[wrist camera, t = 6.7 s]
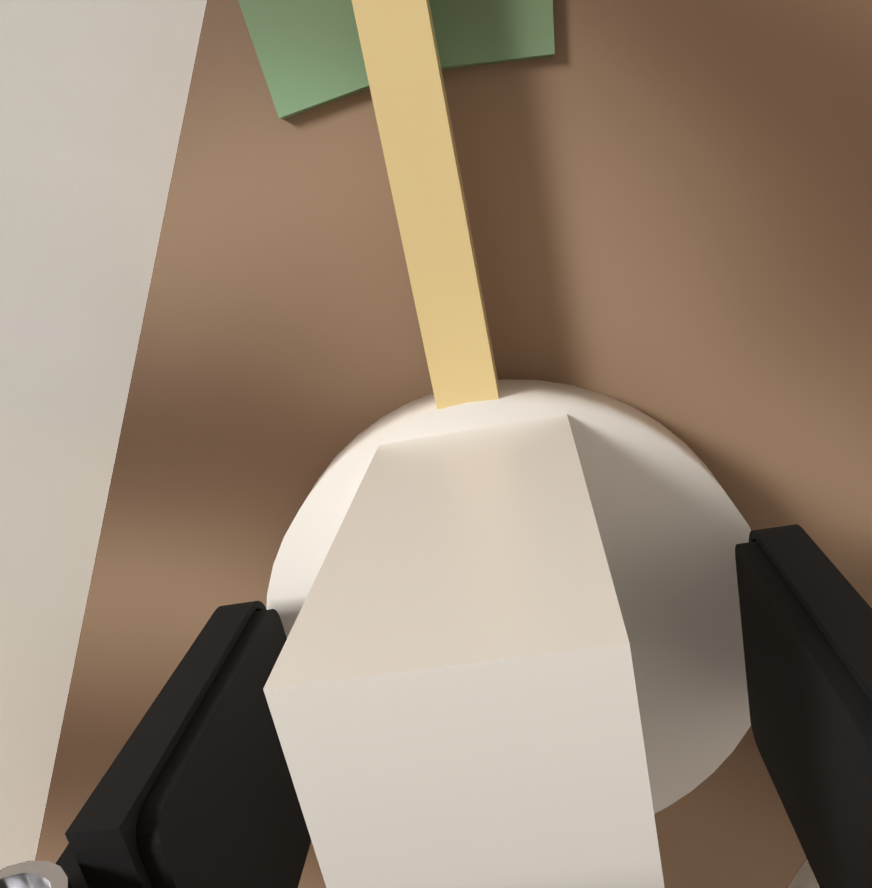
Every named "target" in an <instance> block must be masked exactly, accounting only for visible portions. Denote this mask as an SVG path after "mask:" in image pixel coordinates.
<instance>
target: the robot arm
mask: <svg viewBox="0 0 872 888" xmlns="http://www.w3.org/2000/svg"><path fill="white" fill-rule="evenodd" d="M735 560H736V571H737V582H738V593H739V604H740V614H741V625H742V636H743V647H744V658H745V669H746V680H747V690H748V701H749V712H750V721H751V727H752V731H753V735H754V739H755V742H756V745H757V748H758V750H759V752H760V755H761V757H762V759H763V761H764V764H765V766H766V768H767V770H768V773H769V775H770V777H771V779H772V781H773V784H774V786H775V788H776V790H777V793H778V795H779V797H780V799H781V801H782V804H783V806H784V808H785V810H786V813H787V815H788V817H789V819H790V822H791V824H792V826H793V828H794V830H795V833H796V835H797V837H798V839H799V842H800V844H801V846H802V848H803V851H804V853H805V855H806V857H807V859H808V862H809V864H810V866H811V868H812V871H813V873H814V875H815V877H816V879H817V882H818V884H819V886H820V888H872V608H871V607H870V606H869V605H868V604H867V602H866V601H865V600H864V599H863V598H862V597H861V595H860V594H859V593H858V592H857V591H856V590H855V589H854V587H853V586H852V585H851V584H850V583H849V582H848V580H847V579H846V578H845V577H844V576H843V575H842V573H841V572H840V571H839V570H838V569H837V568H836V567H835V565H834V564H833V563H832V562H831V561H830V560H829V558H828V557H827V556H826V555H825V554H824V553H823V551H822V550H821V549H820V548H819V547H818V546H817V545H816V543H815V542H814V541H813V540H812V539H811V538H810V536H809V535H808V534H807V533H806V532H805V531H804V529H803V528H802V527H801V526H799V525H798V524H794V525H787V526H780V527H773V528H766V529H759V530H752V531H751V532H750V534H749V542H748V543H740V544H736V546H735ZM286 640H287V638H286V634H285V631H284V628H283V624H282V621H281V618H280V616H279V614H278V612H277V611H276V610H275V609H269V610H267V609H266V607H265V605H264V604H263V603H262V602H261V601H252V602H245V603H238V604H231V605H224V606H219V607H218V608H217V609H216V610H215V611H214V613H213V614H212V616H211V617H210V619H209V620H208V622H207V623H206V625H205V626H204V628H203V629H202V631H201V632H200V634H199V635H198V636H197V638H196V639H195V641H194V642H193V644H192V645H191V647H190V648H189V650H188V651H187V653H186V654H185V656H184V657H183V659H182V660H181V662H180V663H179V665H178V666H177V668H176V669H175V671H174V672H173V674H172V675H171V677H170V678H169V680H168V681H167V683H166V684H165V685H164V687H163V688H162V690H161V691H160V693H159V694H158V696H157V697H156V699H155V700H154V702H153V703H152V705H151V706H150V708H149V709H148V711H147V712H146V714H145V715H144V717H143V718H142V720H141V721H140V723H139V724H138V726H137V727H136V729H135V730H134V732H133V733H132V734H131V736H130V737H129V739H128V740H127V742H126V743H125V745H124V746H123V748H122V749H121V751H120V752H119V754H118V755H117V757H116V758H115V760H114V761H113V763H112V764H111V766H110V767H109V769H108V770H107V772H106V773H105V775H104V776H103V778H102V779H101V781H100V782H99V783H98V785H97V786H96V788H95V789H94V791H93V792H92V794H91V795H90V797H89V798H88V800H87V801H86V803H85V804H84V806H83V807H82V809H81V810H80V812H79V813H78V815H77V816H76V818H75V819H74V821H73V822H72V824H71V825H70V827H69V828H68V830H67V831H66V833H65V835H66V838H67V840H68V842H69V844H68V845H67V847H66V848H65V850H64V851H63V853H62V854H61V856H60V857H59V859H58V860H57V862H56V864H54V863H51V862H49V861H26V862H22V863H19V864H15V865H11V866H7V867H5V868H3V869H1V870H0V888H298V885H299V882H300V878H301V875H302V871H303V868H304V864H305V861H306V858H307V854H308V851H309V847H310V844H311V838H310V835H309V832H308V828H307V825H306V822H305V819H304V816H303V813H302V810H301V806H300V803H299V800H298V797H297V794H296V791H295V788H294V785H293V781H292V778H291V775H290V772H289V769H288V766H287V763H286V759H285V756H284V753H283V750H282V747H281V744H280V741H279V737H278V734H277V731H276V728H275V725H274V722H273V719H272V715H271V712H270V709H269V706H268V703H267V700H266V697H265V694H264V690H263V688H264V686H265V684H266V682H267V680H268V678H269V676H270V674H271V671H272V669H273V667H274V665H275V663H276V661H277V659H278V657H279V655H280V652H281V650H282V648H283V646H284V644H285V642H286Z"/></svg>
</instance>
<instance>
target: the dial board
mask: <svg viewBox="0 0 872 888" xmlns="http://www.w3.org/2000/svg"><path fill="white" fill-rule="evenodd" d="M429 3H430V9H431V14H432V20H433V25H434V31H435V36H436V42H437V47H438V53H439V58H440V64H441V69H442V75H443V80H444V86H445V91H446V97H447V102H448V108H449V113H450V119H451V124H452V130H453V135H454V141H455V146H456V152H457V157H458V163H459V168H460V174H461V179H462V185H463V190H464V196H465V201H466V207H467V212H468V218H469V223H470V229H471V234H472V240H473V245H474V251H475V256H476V262H477V267H478V273H479V278H480V284H481V289H482V295H483V300H484V306H485V312H486V317H487V323H488V328H489V334H490V339H491V345H492V350H493V356H494V361H495V367H496V372H497V378H498V380H502V379H514V380H541V381H548V382H555V383H562V384H569V385H573V386H576V387H580V388H584V389H587V390H591V391H594V392H598V393H602V394H604V395H606V396H609V397H611V398H613V399H616V400H618V401H621V402H623V403H625V404H628V405H630V406H632V407H634V408H636V409H637V410H639V411H641V412H642V413H644V414H646V415H647V416H649V417H651V418H652V419H654V420H656V421H658V422H659V423H661V424H662V425H663V426H664V427H666V428H667V429H668V430H669V431H671V432H672V433H673V434H674V435H676V436H677V437H678V438H680V439H681V440H682V441H683V442H685V443H686V445H687V446H688V447H689V448H690V449H691V450H692V451H693V452H694V453H695V454H696V455H697V456H698V457H699V458H700V459H701V460H702V461H703V462H704V463H705V465H706V466H707V467H708V469H709V470H710V471H711V473H712V474H713V476H714V477H715V478H716V480H717V481H718V483H719V484H720V485H721V487H722V488H723V490H724V491H725V492H726V494H727V495H728V497H729V498H730V499H731V501H732V502H733V504H734V505H735V507H736V508H737V509H738V511H739V512H740V514H741V515H742V516H743V518H744V519H745V521H746V522H747V524H748V525H749V527H750V529H751V531H752V530H759V529H766V528H773V527H780V526H787V525H794V524H798V525H799V526H801V527H802V528H803V529H804V531H805V532H806V533H807V534H808V535H809V536H810V538H811V539H812V540H813V541H814V542H815V543H816V545H817V546H818V547H819V548H820V549H821V550H822V551H823V553H824V554H825V555H826V556H827V557H828V558H829V560H830V561H831V562H832V563H833V564H834V565H835V567H836V568H837V569H838V570H839V571H840V572H841V573H842V575H843V576H844V577H845V578H846V579H847V580H848V582H849V583H850V584H851V585H852V586H853V587H854V589H855V590H856V591H857V592H858V593H859V594H860V595H861V597H862V598H863V599H864V600H865V601H866V602H867V604H868V605H869V606H870V607H871V608H872V0H429ZM432 393H433V388H432V383H431V378H430V373H429V369H428V364H427V359H426V354H425V350H424V345H423V340H422V335H421V330H420V326H419V321H418V316H417V311H416V307H415V302H414V297H413V292H412V287H411V283H410V278H409V273H408V268H407V264H406V259H405V254H404V249H403V244H402V240H401V235H400V230H399V225H398V220H397V216H396V211H395V206H394V201H393V197H392V192H391V187H390V182H389V177H388V173H387V168H386V163H385V158H384V154H383V149H382V144H381V139H380V134H379V130H378V125H377V120H376V115H375V111H374V106H373V101H372V96H371V91H370V87H369V82H368V77H367V72H366V68H365V63H364V58H363V53H362V48H361V44H360V39H359V34H358V29H357V24H356V20H355V15H354V10H353V5H352V1H351V0H207V4H206V9H205V14H204V19H203V24H202V29H201V34H200V39H199V44H198V49H197V54H196V59H195V64H194V69H193V74H192V79H191V84H190V89H189V94H188V99H187V104H186V109H185V114H184V119H183V124H182V129H181V134H180V139H179V144H178V149H177V154H176V159H175V164H174V169H173V174H172V179H171V184H170V189H169V194H168V199H167V204H166V209H165V214H164V219H163V224H162V229H161V234H160V239H159V244H158V249H157V254H156V259H155V264H154V269H153V274H152V279H151V284H150V289H149V294H148V299H147V304H146V309H145V314H144V319H143V324H142V329H141V334H140V339H139V344H138V349H137V354H136V359H135V364H134V369H133V374H132V379H131V384H130V389H129V394H128V399H127V404H126V409H125V414H124V419H123V424H122V429H121V434H120V439H119V444H118V449H117V454H116V459H115V464H114V469H113V474H112V479H111V484H110V489H109V494H108V499H107V504H106V509H105V514H104V519H103V524H102V529H101V534H100V539H99V544H98V549H97V554H96V559H95V564H94V569H93V574H92V579H91V584H90V589H89V594H88V599H87V604H86V609H85V614H84V619H83V624H82V629H81V634H80V639H79V644H78V649H77V654H76V659H75V664H74V669H73V674H72V679H71V684H70V689H69V694H68V699H67V704H66V709H65V714H64V719H63V724H62V729H61V734H60V739H59V744H58V749H57V754H56V759H55V764H54V769H53V774H52V779H51V784H50V789H49V794H48V799H47V804H46V809H45V814H44V819H43V824H42V829H41V834H40V839H39V844H38V849H37V854H36V859H35V861H49V862H51V863H54V864H56V862H57V860H58V859H59V857H60V856H61V854H62V853H63V851H64V850H65V848H66V847H67V845H68V844H69V842H68V840H67V838H66V835H65V833H66V831H67V830H68V828H69V827H70V825H71V824H72V822H73V821H74V819H75V818H76V816H77V815H78V813H79V812H80V810H81V809H82V807H83V806H84V804H85V803H86V801H87V800H88V798H89V797H90V795H91V794H92V792H93V791H94V789H95V788H96V786H97V785H98V783H99V782H100V781H101V779H102V778H103V776H104V775H105V773H106V772H107V770H108V769H109V767H110V766H111V764H112V763H113V761H114V760H115V758H116V757H117V755H118V754H119V752H120V751H121V749H122V748H123V746H124V745H125V743H126V742H127V740H128V739H129V737H130V736H131V734H132V733H133V732H134V730H135V729H136V727H137V726H138V724H139V723H140V721H141V720H142V718H143V717H144V715H145V714H146V712H147V711H148V709H149V708H150V706H151V705H152V703H153V702H154V700H155V699H156V697H157V696H158V694H159V693H160V691H161V690H162V688H163V687H164V685H165V684H166V683H167V681H168V680H169V678H170V677H171V675H172V674H173V672H174V671H175V669H176V668H177V666H178V665H179V663H180V662H181V660H182V659H183V657H184V656H185V654H186V653H187V651H188V650H189V648H190V647H191V645H192V644H193V642H194V641H195V639H196V638H197V636H198V635H199V634H200V632H201V631H202V629H203V628H204V626H205V625H206V623H207V622H208V620H209V619H210V617H211V616H212V614H213V613H214V611H215V610H216V609H217V608H218V607H219V606H224V605H231V604H238V603H245V602H252V601H261V602H262V603H263V604H264V605H265V607H266V604H267V592H268V587H269V582H270V578H271V573H272V568H273V564H274V562H275V559H276V556H277V554H278V551H279V548H280V546H281V543H282V541H283V538H284V536H285V534H286V532H287V531H288V529H289V527H290V525H291V524H292V522H293V520H294V518H295V516H296V515H297V513H298V511H299V509H300V508H301V506H302V505H303V503H304V501H305V500H306V498H307V497H308V495H309V493H310V492H311V490H312V489H313V487H314V485H315V484H316V482H317V481H318V479H319V478H320V476H321V475H322V474H323V472H324V471H325V470H326V468H327V467H328V466H329V465H330V463H331V462H332V461H333V459H334V458H335V457H336V456H337V455H338V454H339V453H340V452H341V451H342V450H343V449H344V448H345V447H346V446H347V445H348V444H349V443H350V442H351V441H352V440H353V439H354V438H355V437H356V436H357V435H358V434H360V433H361V432H362V431H364V430H365V429H366V428H368V427H369V426H370V425H372V424H373V423H375V422H376V421H377V420H379V419H380V418H381V417H383V416H385V415H387V414H388V413H390V412H392V411H394V410H396V409H398V408H399V407H401V406H403V405H405V404H407V403H409V402H411V401H413V400H416V399H419V398H421V397H424V396H426V395H429V394H432ZM654 817H655V824H656V831H657V838H658V845H659V852H660V859H661V866H662V873H663V880H664V887H665V888H787V887H788V885H789V884H790V882H791V881H792V879H793V878H794V876H795V875H796V873H797V872H798V870H799V869H800V867H801V866H802V864H803V863H804V861H805V860H806V858H807V857H806V855H805V853H804V851H803V848H802V846H801V844H800V842H799V839H798V837H797V835H796V833H795V830H794V828H793V826H792V824H791V822H790V819H789V817H788V815H787V813H786V810H785V808H784V806H783V804H782V801H781V799H780V797H779V795H778V793H777V790H776V788H775V786H774V784H773V781H772V779H771V777H770V775H769V773H768V770H767V768H766V766H765V764H764V761H763V759H762V757H761V755H760V752H759V750H758V748H757V745H756V742H755V739H754V735H753V731H752V727H751V726H750V728H749V729H748V730H747V732H746V733H745V735H744V736H743V738H742V739H741V741H740V742H739V744H738V745H737V746H736V748H735V749H734V751H733V752H732V753H731V754H730V755H729V756H728V757H727V758H726V760H725V761H724V762H723V763H722V764H721V765H720V766H719V767H718V768H717V769H716V770H715V772H714V773H712V774H711V775H710V776H709V777H708V778H707V779H705V780H704V781H703V782H702V783H701V784H699V785H698V786H697V787H696V788H695V789H694V790H692V791H691V792H690V793H688V794H687V795H685V796H684V797H682V798H681V799H679V800H677V801H676V802H674V803H673V804H671V805H670V806H668V807H667V808H665V809H663V810H661V811H659V812H657V813H655V814H654ZM298 888H326V885H325V882H324V879H323V875H322V872H321V869H320V866H319V863H318V860H317V857H316V854H315V850H314V847H313V844H312V841H311V844H310V847H309V851H308V854H307V858H306V861H305V864H304V868H303V871H302V875H301V878H300V882H299V885H298Z"/></svg>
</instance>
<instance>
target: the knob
mask: <svg viewBox="0 0 872 888" xmlns="http://www.w3.org/2000/svg"><path fill="white" fill-rule="evenodd" d="M351 1H352V5H353V10H354V15H355V20H356V24H357V29H358V34H359V39H360V44H361V48H362V53H363V58H364V63H365V68H366V72H367V77H368V82H369V87H370V91H371V96H372V101H373V106H374V111H375V115H376V120H377V125H378V130H379V134H380V139H381V144H382V149H383V154H384V158H385V163H386V168H387V173H388V177H389V182H390V187H391V192H392V197H393V201H394V206H395V211H396V216H397V220H398V225H399V230H400V235H401V240H402V244H403V249H404V254H405V259H406V264H407V268H408V273H409V278H410V283H411V287H412V292H413V297H414V302H415V307H416V311H417V316H418V321H419V326H420V330H421V335H422V340H423V345H424V350H425V354H426V359H427V364H428V369H429V373H430V378H431V383H432V388H433V393H432V394H429V395H426V396H424V397H421V398H419V399H416V400H413V401H411V402H409V403H407V404H405V405H403V406H401V407H399V408H398V409H396V410H394V411H392V412H390V413H388V414H387V415H385V416H383V417H381V418H380V419H379V420H377V421H376V422H375V423H373V424H372V425H370V426H369V427H368V428H366V429H365V430H364V431H362V432H361V433H360V434H358V435H357V436H356V437H355V438H354V439H353V440H352V441H351V442H350V443H349V444H348V445H347V446H346V447H345V448H344V449H343V450H342V451H341V452H340V453H339V454H338V455H337V456H336V457H335V458H334V459H333V461H332V462H331V463H330V465H329V466H328V467H327V468H326V470H325V471H324V472H323V474H322V475H321V476H320V478H319V479H318V481H317V482H316V484H315V485H314V487H313V489H312V490H311V492H310V493H309V495H308V497H307V498H306V500H305V501H304V503H303V505H302V506H301V508H300V509H299V511H298V513H297V515H296V516H295V518H294V520H293V522H292V524H291V525H290V527H289V529H288V531H287V532H286V534H285V536H284V538H283V541H282V543H281V546H280V548H279V551H278V554H277V556H276V559H275V562H274V564H273V568H272V573H271V578H270V582H269V587H268V592H267V604H266V609H267V610H269V609H275V610H276V611H277V612H278V614H279V616H280V618H281V621H282V624H283V628H284V631H285V634H286V638H287V640H286V642H285V644H284V646H283V648H282V650H281V652H280V655H279V657H278V659H277V661H276V663H275V665H274V667H273V669H272V671H271V674H270V676H269V678H268V680H267V682H266V684H265V686H264V688H263V690H264V694H265V697H266V700H267V703H268V706H269V709H270V712H271V715H272V719H273V722H274V725H275V728H276V731H277V734H278V737H279V741H280V744H281V747H282V750H283V753H284V756H285V759H286V763H287V766H288V769H289V772H290V775H291V778H292V781H293V785H294V788H295V791H296V794H297V797H298V800H299V803H300V806H301V810H302V813H303V816H304V819H305V822H306V825H307V828H308V832H309V835H310V838H311V841H312V844H313V847H314V850H315V854H316V857H317V860H318V863H319V866H320V869H321V872H322V875H323V879H324V882H325V885H326V888H665V887H664V880H663V873H662V866H661V859H660V852H659V845H658V838H657V831H656V824H655V817H654V814H655V813H657V812H659V811H661V810H663V809H665V808H667V807H668V806H670V805H671V804H673V803H674V802H676V801H677V800H679V799H681V798H682V797H684V796H685V795H687V794H688V793H690V792H691V791H692V790H694V789H695V788H696V787H697V786H698V785H699V784H701V783H702V782H703V781H704V780H705V779H707V778H708V777H709V776H710V775H711V774H712V773H714V772H715V770H716V769H717V768H718V767H719V766H720V765H721V764H722V763H723V762H724V761H725V760H726V758H727V757H728V756H729V755H730V754H731V753H732V752H733V751H734V749H735V748H736V746H737V745H738V744H739V742H740V741H741V739H742V738H743V736H744V735H745V733H746V732H747V730H748V729H749V728H750V726H751V721H750V712H749V701H748V690H747V680H746V669H745V658H744V647H743V636H742V625H741V614H740V604H739V593H738V582H737V571H736V560H735V546H736V544H740V543H748V542H749V534H750V532H751V529H750V527H749V525H748V524H747V522H746V521H745V519H744V518H743V516H742V515H741V514H740V512H739V511H738V509H737V508H736V507H735V505H734V504H733V502H732V501H731V499H730V498H729V497H728V495H727V494H726V492H725V491H724V490H723V488H722V487H721V485H720V484H719V483H718V481H717V480H716V478H715V477H714V476H713V474H712V473H711V471H710V470H709V469H708V467H707V466H706V465H705V463H704V462H703V461H702V460H701V459H700V458H699V457H698V456H697V455H696V454H695V453H694V452H693V451H692V450H691V449H690V448H689V447H688V446H687V445H686V443H685V442H683V441H682V440H681V439H680V438H678V437H677V436H676V435H674V434H673V433H672V432H671V431H669V430H668V429H667V428H666V427H664V426H663V425H662V424H661V423H659V422H658V421H656V420H654V419H652V418H651V417H649V416H647V415H646V414H644V413H642V412H641V411H639V410H637V409H636V408H634V407H632V406H630V405H628V404H625V403H623V402H621V401H618V400H616V399H613V398H611V397H609V396H606V395H604V394H602V393H598V392H594V391H591V390H587V389H584V388H580V387H576V386H573V385H569V384H562V383H555V382H548V381H541V380H514V379H502V380H498V378H497V372H496V367H495V361H494V356H493V350H492V345H491V339H490V334H489V328H488V323H487V317H486V312H485V306H484V300H483V295H482V289H481V284H480V278H479V273H478V267H477V262H476V256H475V251H474V245H473V240H472V234H471V229H470V223H469V218H468V212H467V207H466V201H465V196H464V190H463V185H462V179H461V174H460V168H459V163H458V157H457V152H456V146H455V141H454V135H453V130H452V124H451V119H450V113H449V108H448V102H447V97H446V91H445V86H444V80H443V75H442V69H441V64H440V58H439V53H438V47H437V42H436V36H435V31H434V25H433V20H432V14H431V9H430V3H429V0H351Z"/></svg>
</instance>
